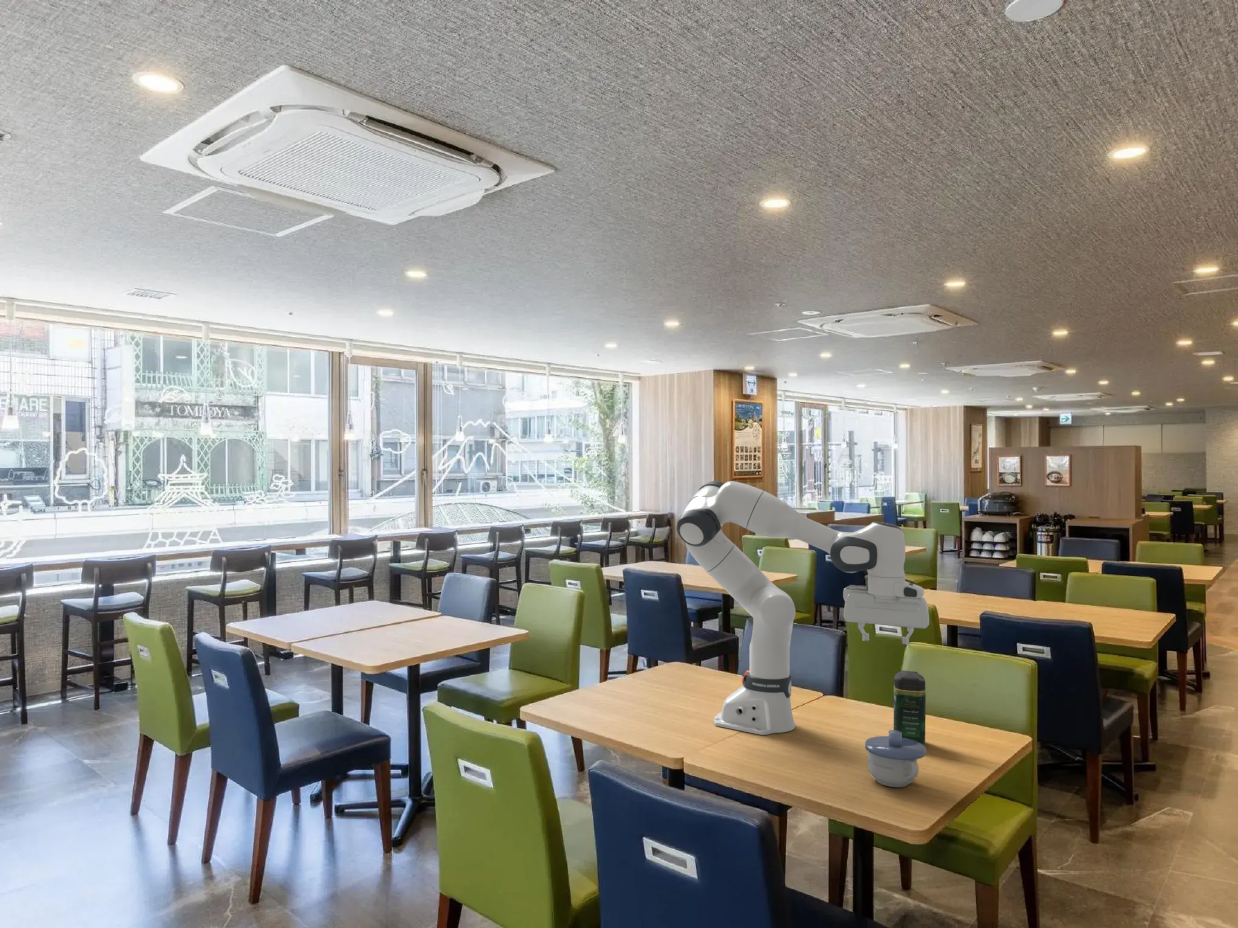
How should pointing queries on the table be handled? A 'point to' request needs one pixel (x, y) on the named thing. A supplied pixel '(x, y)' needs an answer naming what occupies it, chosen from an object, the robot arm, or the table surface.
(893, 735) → the lid
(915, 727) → the coffee jar
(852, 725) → the table surface
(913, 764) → the teacup
